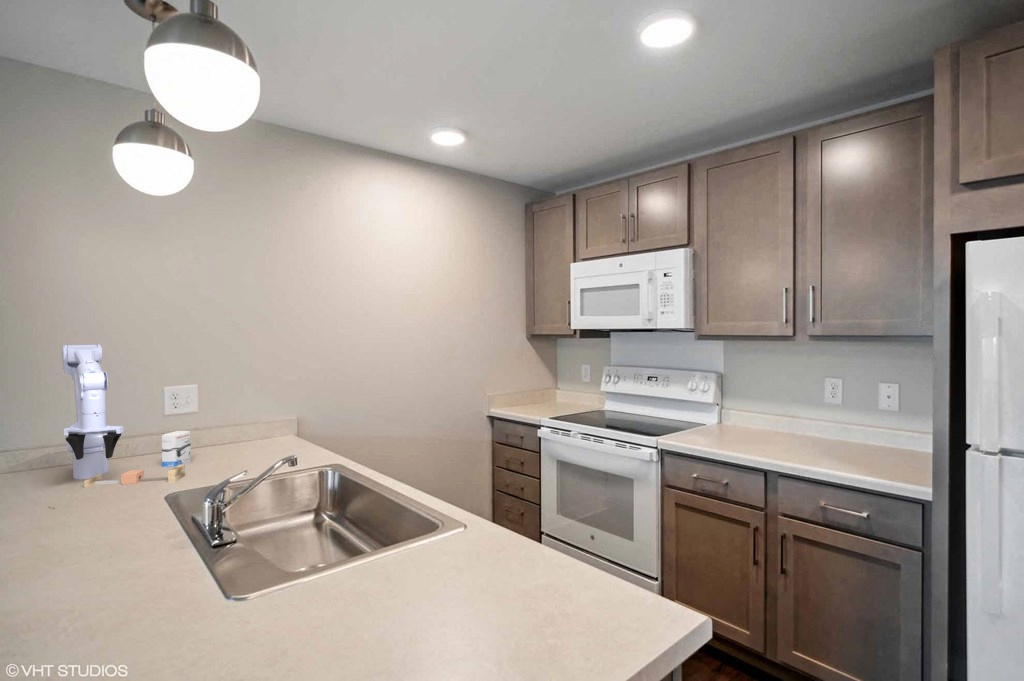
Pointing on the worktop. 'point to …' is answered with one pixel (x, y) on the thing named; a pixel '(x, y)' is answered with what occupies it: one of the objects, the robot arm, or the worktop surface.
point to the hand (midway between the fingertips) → (94, 458)
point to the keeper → (132, 476)
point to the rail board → (172, 477)
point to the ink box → (176, 448)
